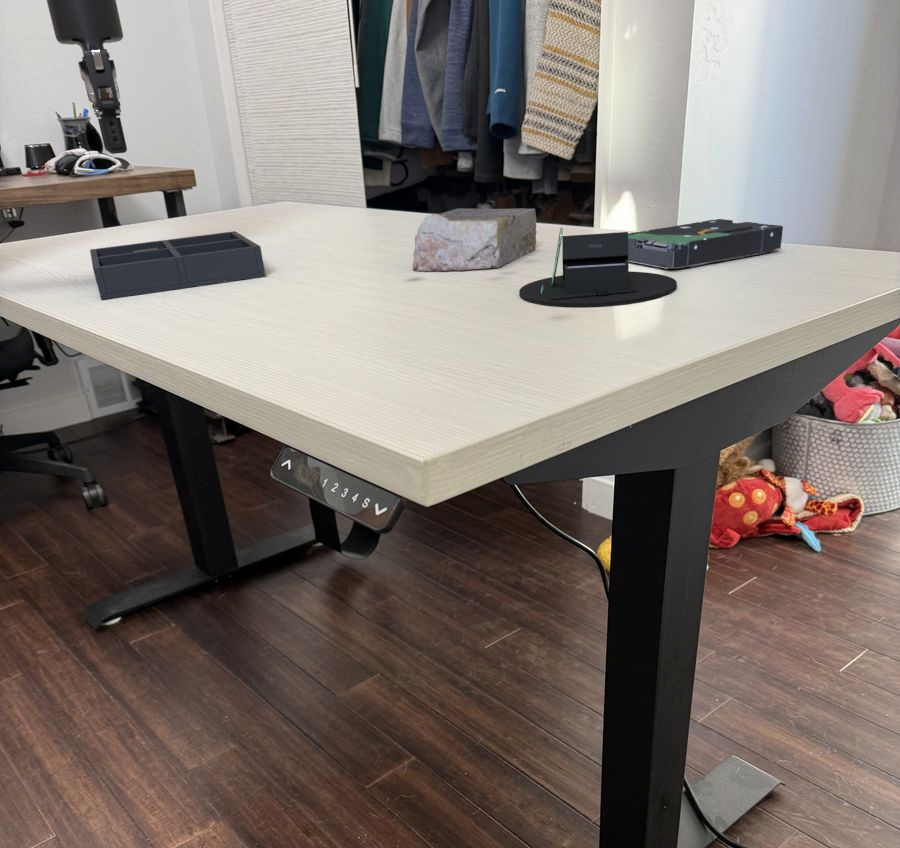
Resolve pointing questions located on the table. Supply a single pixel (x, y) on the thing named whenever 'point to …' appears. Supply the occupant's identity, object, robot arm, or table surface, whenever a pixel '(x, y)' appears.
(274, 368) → the table surface
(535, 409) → the table surface
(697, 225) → the disk drive
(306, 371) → the table surface
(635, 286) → the black display stand
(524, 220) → the geological specimen
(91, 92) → the robot arm
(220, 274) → the tray
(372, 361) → the table surface
